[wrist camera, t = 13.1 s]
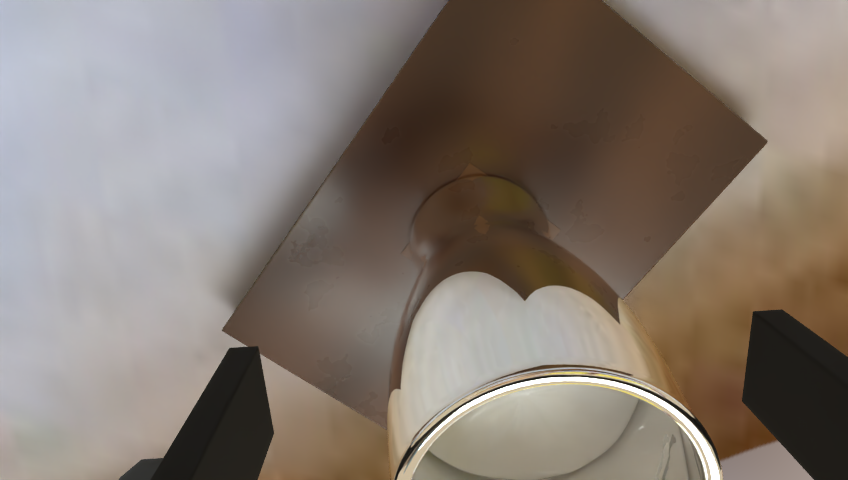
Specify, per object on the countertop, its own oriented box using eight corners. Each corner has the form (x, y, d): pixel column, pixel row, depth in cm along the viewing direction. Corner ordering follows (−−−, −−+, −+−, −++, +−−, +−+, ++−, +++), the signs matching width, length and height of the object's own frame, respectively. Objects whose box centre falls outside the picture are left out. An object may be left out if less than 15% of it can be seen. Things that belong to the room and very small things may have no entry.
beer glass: (445, 135, 24) (486, 298, 10) (589, 208, 25) (812, 448, 11) (373, 275, 26) (321, 575, 12) (509, 337, 27) (608, 675, 13)
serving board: (234, 311, 29) (220, 331, 27) (498, -73, 23) (505, -83, 21) (459, 449, 32) (462, 476, 30) (744, 134, 26) (770, 141, 24)
